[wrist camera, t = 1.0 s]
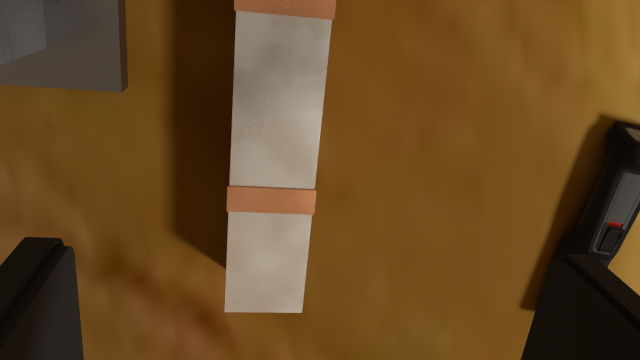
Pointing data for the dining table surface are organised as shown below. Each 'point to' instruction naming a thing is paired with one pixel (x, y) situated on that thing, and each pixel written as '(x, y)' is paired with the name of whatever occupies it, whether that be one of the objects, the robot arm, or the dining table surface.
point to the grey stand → (64, 44)
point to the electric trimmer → (610, 199)
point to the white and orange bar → (274, 150)
